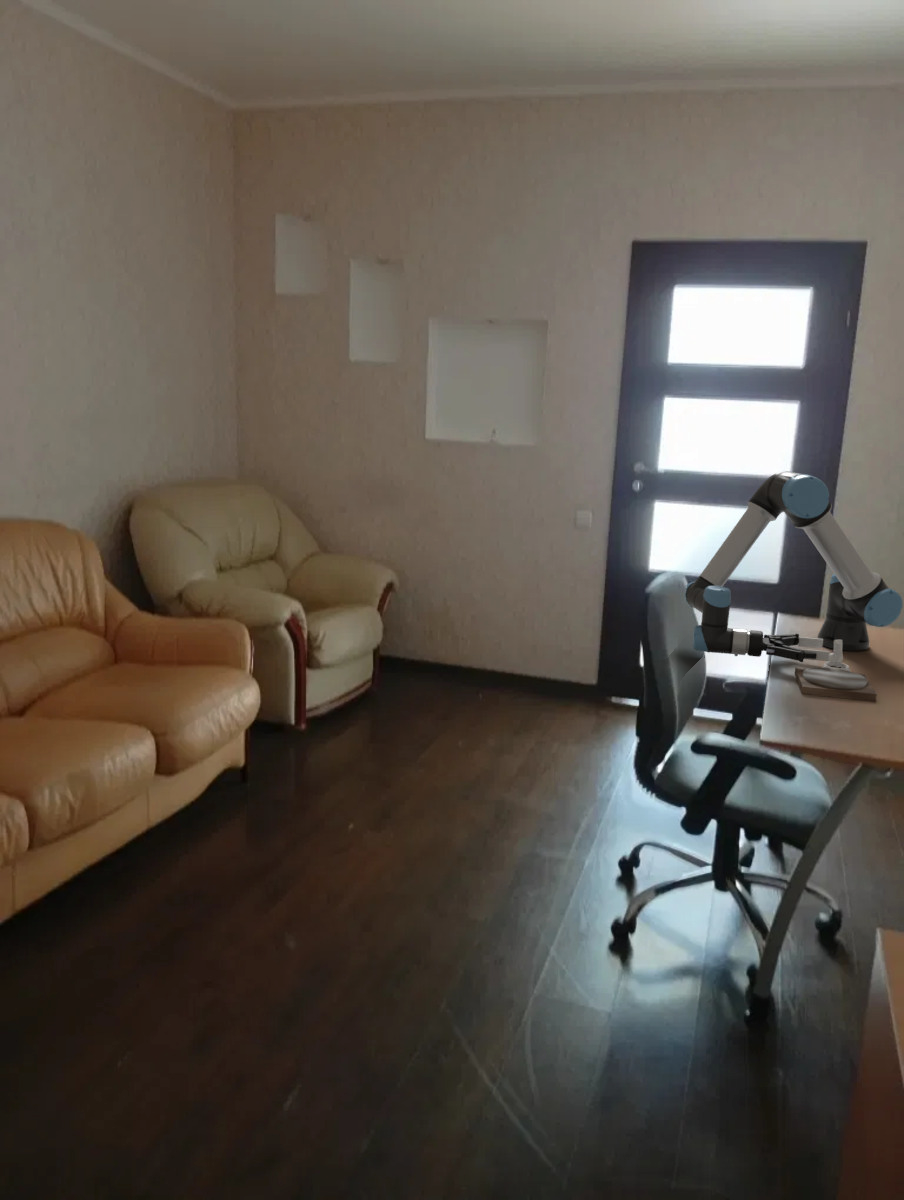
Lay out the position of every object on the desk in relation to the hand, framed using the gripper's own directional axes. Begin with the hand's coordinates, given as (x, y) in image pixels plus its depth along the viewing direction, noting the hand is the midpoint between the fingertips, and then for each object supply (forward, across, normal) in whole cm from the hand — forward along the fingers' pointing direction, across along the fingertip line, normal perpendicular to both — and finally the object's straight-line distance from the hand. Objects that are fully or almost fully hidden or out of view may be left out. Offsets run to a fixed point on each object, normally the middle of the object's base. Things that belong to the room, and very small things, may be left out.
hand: (825, 649), depth 257 cm
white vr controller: (+4, 0, -6) cm, 7 cm away
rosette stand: (0, +17, -6) cm, 18 cm away
